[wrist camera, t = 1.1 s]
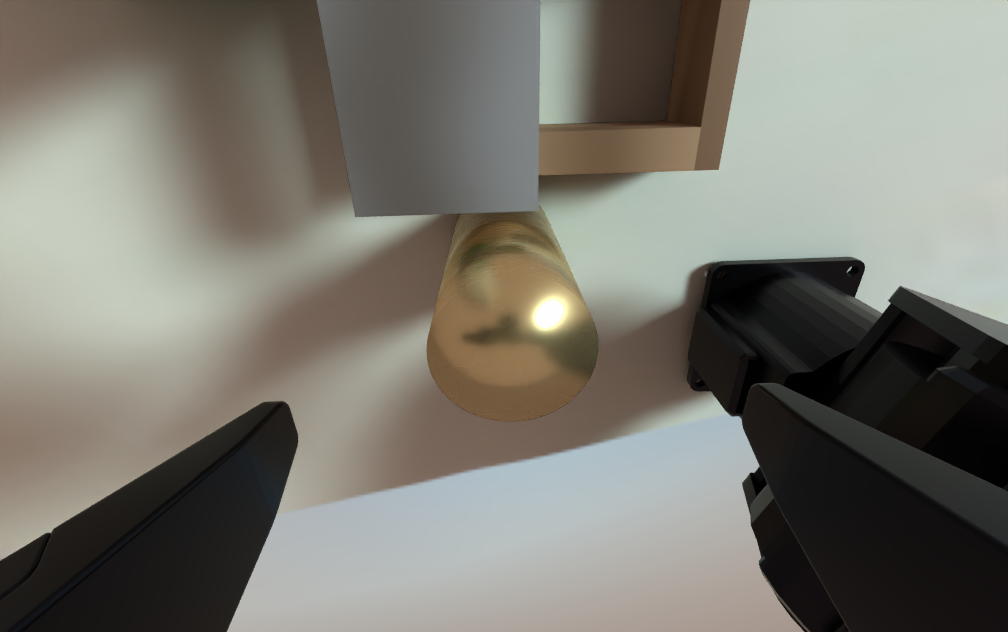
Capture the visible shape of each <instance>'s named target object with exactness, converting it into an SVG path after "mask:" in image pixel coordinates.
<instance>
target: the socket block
mask: <svg viewBox="0 0 1008 632" xmlns="http://www.w3.org/2000/svg"><path fill="white" fill-rule="evenodd" d="M316 1H317V6H318V12H319V17H320V23H321V28H322V34H323V40H324V45H325V51H326V56H327V62H328V67H329V73H330V79H331V84H332V90H333V95H334V101H335V106H336V112H337V117H338V123H339V129H340V134H341V140H342V145H343V151H344V156H345V162H346V168H347V173H348V179H349V184H350V190H351V195H352V201H353V207H354V212H355V217H370V216H400V215H431V214H462V213H492V212H523V211H538V178H539V175H568V174H599V173H631V172H663V171H694V170H719V164H720V159H721V153H722V148H723V143H724V137H725V132H726V127H727V121H728V116H729V111H730V105H731V100H732V95H733V89H734V84H735V78H736V73H737V68H738V62H739V57H740V52H741V46H742V41H743V36H744V30H745V25H746V19H747V14H748V9H749V3H750V0H682V8H681V16H680V23H679V31H678V39H677V47H676V54H675V62H674V70H673V78H672V85H671V93H670V101H669V108H668V116H667V121H640V122H607V123H573V124H540V125H539V70H540V0H316Z"/></svg>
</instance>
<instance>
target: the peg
mask: <svg viewBox="0 0 1008 632" xmlns="http://www.w3.org/2000/svg"><path fill="white" fill-rule="evenodd" d="M597 355H598V337H597V331H596V328H595V325H594V322H593V320H592V317H591V315H590V313H589V311H588V308H587V306H586V304H585V301H584V299H583V297H582V295H581V292H580V290H579V288H578V286H577V283H576V281H575V279H574V277H573V274H572V272H571V270H570V268H569V265H568V263H567V261H566V259H565V256H564V254H563V252H562V250H561V247H560V245H559V243H558V241H557V238H556V236H555V234H554V232H553V229H552V227H551V225H550V223H549V220H548V218H547V216H546V214H545V212H544V211H543V209H542V208H541V207H540V205H539V204H538V211H523V212H492V213H462V214H460V215H459V217H458V220H457V223H456V226H455V230H454V234H453V238H452V242H451V246H450V250H449V254H448V258H447V262H446V267H445V271H444V275H443V279H442V283H441V287H440V291H439V295H438V299H437V303H436V307H435V311H434V315H433V319H432V323H431V327H430V331H429V335H428V340H427V359H428V364H429V368H430V371H431V374H432V376H433V378H434V380H435V382H436V384H437V385H438V387H439V388H440V389H441V391H442V392H443V393H444V394H445V395H446V396H447V397H448V398H449V399H450V400H451V401H452V402H454V403H455V404H456V405H458V406H459V407H461V408H462V409H464V410H466V411H468V412H470V413H472V414H474V415H477V416H480V417H483V418H487V419H492V420H498V421H523V420H529V419H534V418H537V417H541V416H544V415H546V414H549V413H551V412H554V411H555V410H557V409H559V408H561V407H563V406H564V405H565V404H567V403H568V402H569V401H571V400H572V399H573V398H574V397H575V396H576V395H577V394H578V393H579V392H580V391H581V390H582V389H583V388H584V386H585V385H586V383H587V382H588V380H589V379H590V377H591V375H592V373H593V370H594V368H595V364H596V361H597Z"/></svg>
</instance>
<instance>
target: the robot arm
mask: <svg viewBox="0 0 1008 632" xmlns="http://www.w3.org/2000/svg"><path fill="white" fill-rule="evenodd" d="M851 266H852V268H851V270H850V271H849V272H848V273H847V270H848V269H849V268H850V267H851ZM723 270H725V274H724V275H723V276H722V277H720V278H718V274H719V273H720V272H721V271H723ZM864 270H865V265H864V263H863V262H862V261H860V260H858V259H856V258H853V257H833V258H804V259H775V260H746V261H721V262H717V263H715V264H713V265H712V266H711V267H710V268H709V271H708V274H707V279H706V284H705V289H704V294H703V299H702V305H701V308H700V309H699V310H698V311H697V313H696V316H695V322H694V327H693V332H692V337H691V342H690V348H689V353H688V360H689V361H690V366H689V371H688V376H687V382H688V384H689V385H690V387H691V388H692V389H693V390H694V391H711V392H712V393H713V394H714V396H715V397H716V398H717V400H718V401H719V403H720V404H721V405H722V407H723V408H724V409H725V411H726V412H727V413H728V414H729V415H731V416H739V417H740V418H741V419H742V425H743V429H744V431H745V434H746V436H747V438H748V440H749V442H750V445H751V447H752V450H753V452H754V454H755V456H756V459H757V461H758V463H759V466H760V467H759V468H758V469H757V470H756V472H755V473H750V474H749V475H748V477H747V478H746V479H745V480H744V482H743V483H742V485H743V489H744V493H745V496H746V500H747V504H748V508H749V512H750V516H751V527H752V529H753V531H754V534H755V537H756V539H757V542H758V546H759V550H760V554H761V559H760V561H759V565H760V569H761V571H762V574H763V576H764V577H765V579H766V580H767V582H768V583H769V585H770V586H771V588H772V589H773V591H774V593H775V595H776V596H777V598H778V600H779V601H780V603H781V604H782V605H783V607H784V608H785V609H786V611H787V612H788V614H789V615H790V616H791V618H792V619H793V620H794V621H795V622H796V623H797V624H798V625H799V626H800V627H801V628H802V629H803V631H804V632H1008V325H1007V324H1004V323H1002V322H999V321H996V320H993V319H991V318H988V317H985V316H982V315H980V314H977V313H974V312H971V311H968V310H966V309H963V308H960V307H957V306H955V305H952V304H949V303H946V302H944V301H941V300H938V299H935V298H933V297H930V296H927V295H924V294H922V293H919V292H916V291H913V290H911V289H908V288H905V287H902V286H900V287H899V288H898V289H897V290H896V292H895V293H894V294H893V295H892V297H891V298H890V299H889V300H888V301H889V302H890V303H891V304H890V305H889V306H888V308H887V309H886V310H885V311H884V313H883V314H882V313H880V312H879V311H877V310H875V309H873V308H872V307H870V306H868V305H867V304H865V303H863V302H861V301H860V300H858V299H856V298H855V295H856V292H857V290H858V287H859V284H860V281H861V279H862V276H863V273H864ZM701 378H702V380H701V381H700V382H696V381H697V380H698V379H701ZM297 446H298V433H297V430H296V426H295V423H294V420H293V417H292V413H291V410H290V407H289V405H288V404H287V403H286V402H284V401H275V402H263V403H261V404H259V405H258V406H256V407H254V408H253V409H251V410H249V411H248V412H246V413H244V414H243V415H241V416H239V417H238V418H236V419H234V420H233V421H231V422H230V423H228V424H226V425H225V426H223V427H221V428H220V429H218V430H216V431H215V432H213V433H211V434H210V435H208V436H206V437H205V438H203V439H201V440H200V441H198V442H196V443H195V444H193V445H191V446H190V447H188V448H186V449H185V450H183V451H182V452H180V453H178V454H177V455H175V456H173V457H172V458H170V459H168V460H167V461H165V462H163V463H162V464H160V465H158V466H157V467H155V468H153V469H152V470H150V471H148V472H147V473H145V474H143V475H142V476H140V477H138V478H137V479H135V480H134V481H132V482H130V483H129V484H127V485H125V486H124V487H122V488H120V489H119V490H117V491H115V492H114V493H112V494H110V495H109V496H107V497H105V498H104V499H102V500H100V501H99V502H97V503H95V504H94V505H92V506H91V507H89V508H87V509H86V510H84V511H82V512H81V513H79V514H77V515H76V516H74V517H72V518H71V519H69V520H67V521H66V522H64V523H62V524H61V525H59V526H57V527H56V528H54V529H53V531H52V533H46V534H44V535H42V536H41V537H39V538H37V539H36V540H34V541H32V542H31V543H29V544H27V545H26V546H24V547H23V548H21V549H19V550H18V551H16V552H14V553H13V554H11V555H9V556H7V557H6V558H4V559H2V560H1V561H0V632H227V630H228V628H229V625H230V623H231V621H232V618H233V616H234V613H235V611H236V609H237V607H238V604H239V602H240V600H241V597H242V595H243V593H244V590H245V588H246V585H247V583H248V581H249V578H250V576H251V574H252V572H253V569H254V567H255V565H256V562H257V560H258V558H259V555H260V553H261V551H262V548H263V546H264V544H265V541H266V539H267V537H268V534H269V532H270V530H271V527H272V525H273V522H274V520H275V517H276V514H277V511H278V508H279V505H280V501H281V498H282V495H283V492H284V488H285V485H286V482H287V479H288V475H289V472H290V469H291V466H292V462H293V459H294V456H295V453H296V449H297Z"/></svg>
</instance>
